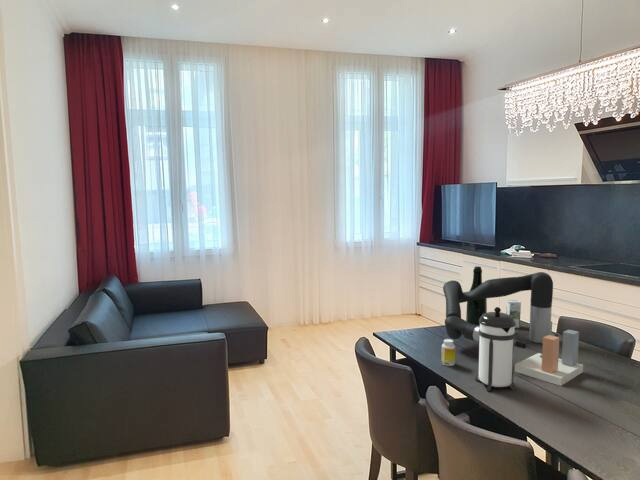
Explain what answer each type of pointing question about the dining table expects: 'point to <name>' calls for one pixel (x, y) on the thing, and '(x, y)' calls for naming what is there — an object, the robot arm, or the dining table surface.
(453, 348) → the supplement bottle
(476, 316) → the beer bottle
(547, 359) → the terracotta slider
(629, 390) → the dining table surface
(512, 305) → the syrup box
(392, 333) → the dining table surface
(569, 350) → the slate slider
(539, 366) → the control board
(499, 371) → the coffee press
